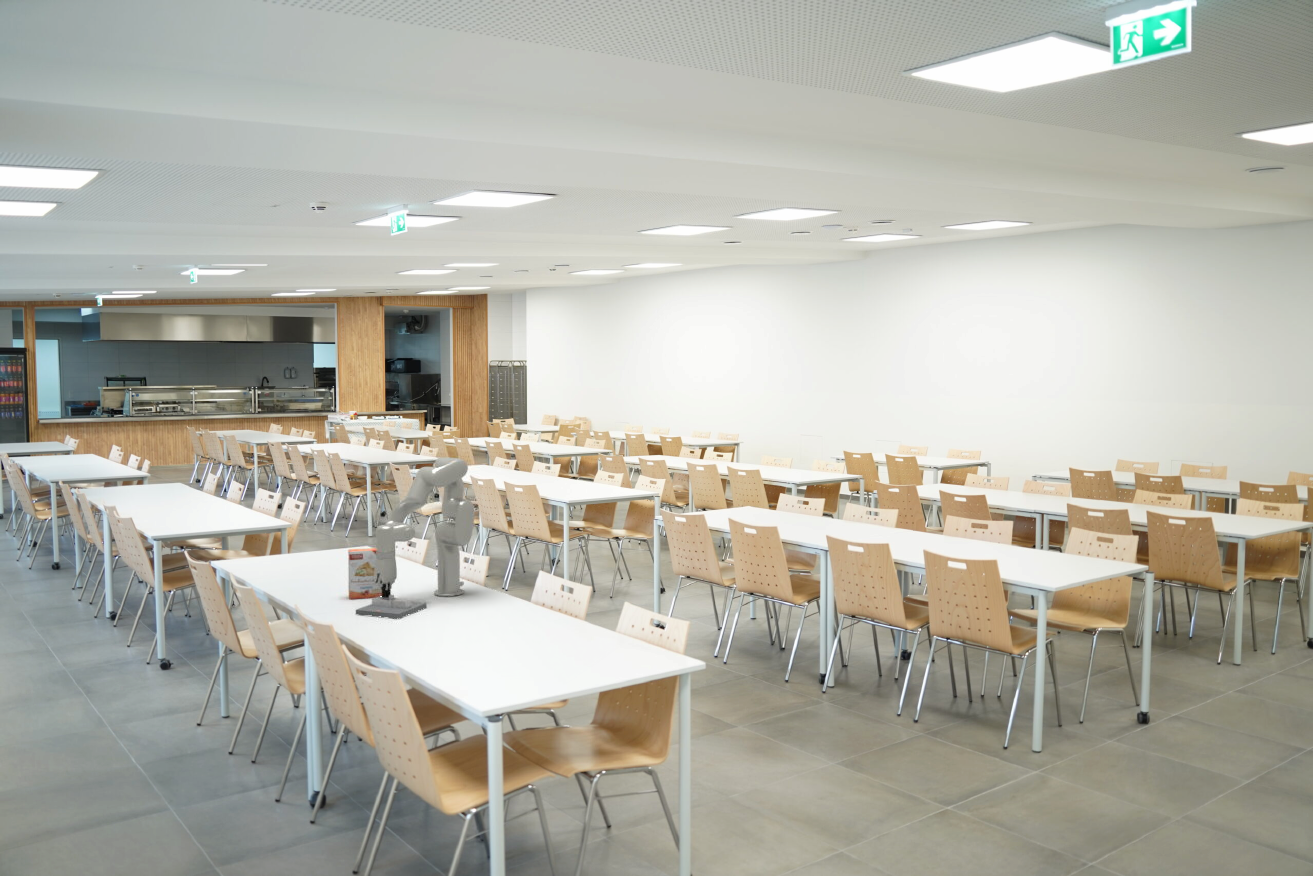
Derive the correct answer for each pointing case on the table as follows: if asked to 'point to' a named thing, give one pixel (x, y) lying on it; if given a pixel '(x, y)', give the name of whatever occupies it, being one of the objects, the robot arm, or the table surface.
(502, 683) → the table surface
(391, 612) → the cover plate
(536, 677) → the table surface
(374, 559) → the cracker box
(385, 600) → the grey long block
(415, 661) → the table surface
